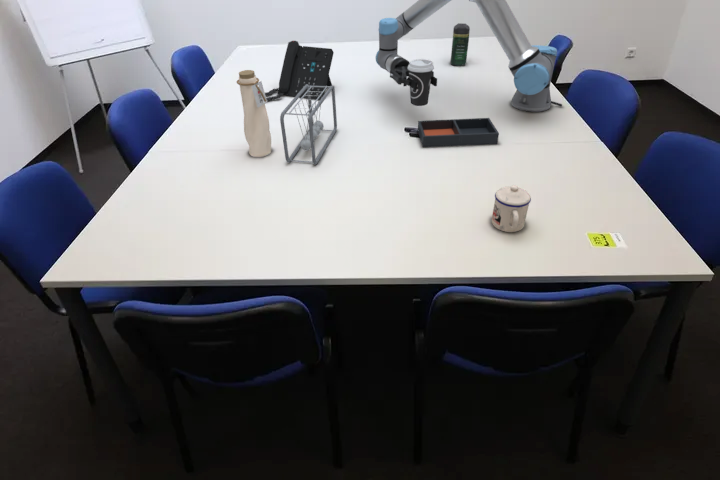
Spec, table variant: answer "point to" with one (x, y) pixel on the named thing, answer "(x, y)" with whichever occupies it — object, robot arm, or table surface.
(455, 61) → the green shampoo bottle
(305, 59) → the office phone
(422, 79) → the coffee cup
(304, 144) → the newton's cradle
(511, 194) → the teacup with lid
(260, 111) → the water bottle
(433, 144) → the divided storage tray
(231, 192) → the table surface
